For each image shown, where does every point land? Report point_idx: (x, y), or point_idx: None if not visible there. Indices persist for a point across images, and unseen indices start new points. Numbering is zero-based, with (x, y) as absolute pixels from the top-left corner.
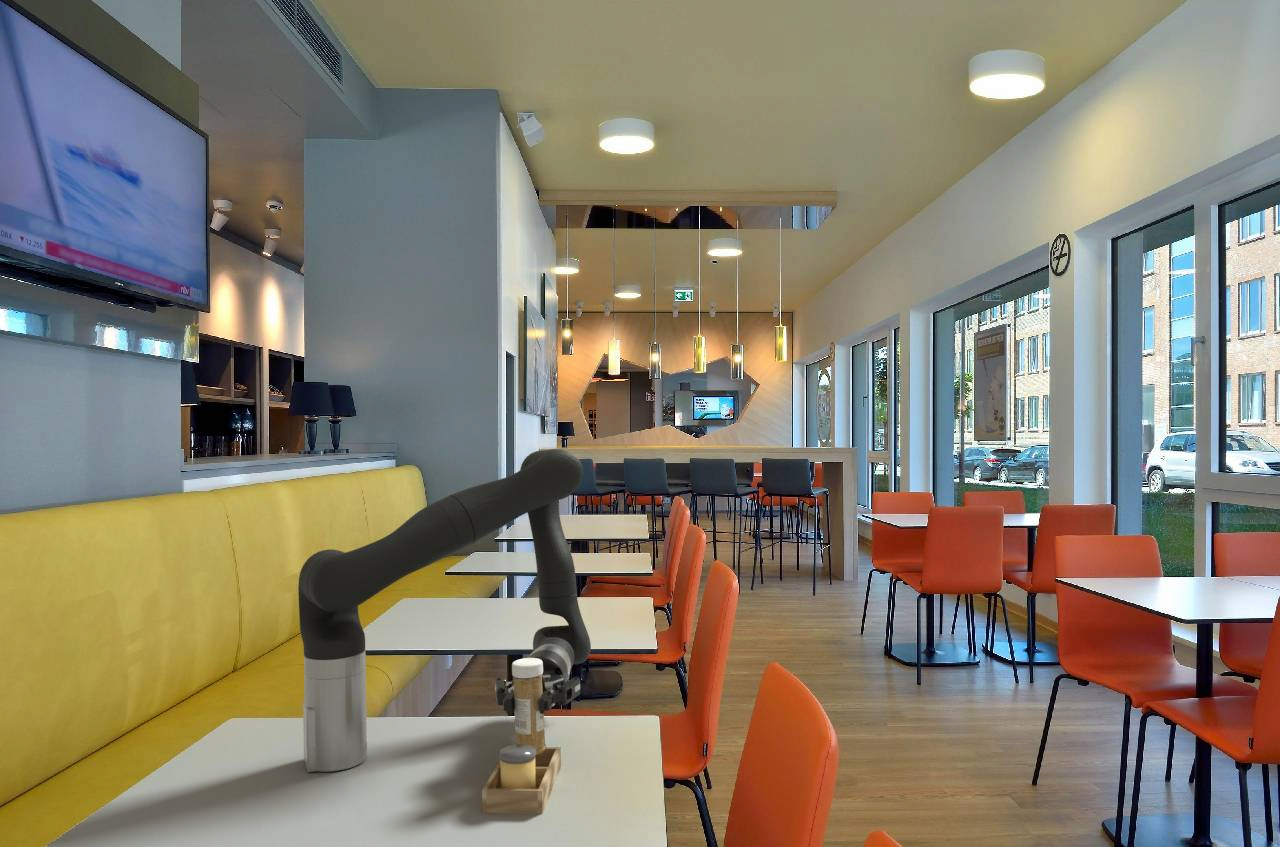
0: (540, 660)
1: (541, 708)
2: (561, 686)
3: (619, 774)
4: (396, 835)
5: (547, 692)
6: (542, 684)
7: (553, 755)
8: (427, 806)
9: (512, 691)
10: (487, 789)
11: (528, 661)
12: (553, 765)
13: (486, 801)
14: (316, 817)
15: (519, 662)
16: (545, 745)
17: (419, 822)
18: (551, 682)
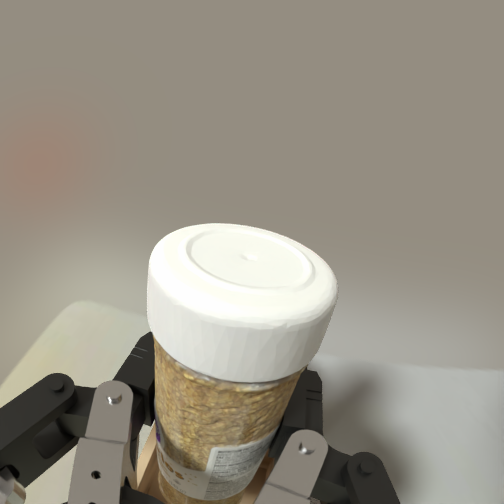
0: (164, 246)
1: None
2: (53, 404)
3: None
4: (378, 363)
5: (135, 372)
6: (131, 501)
7: (140, 478)
8: (377, 428)
9: (300, 430)
10: None
11: (240, 255)
12: (150, 432)
13: None
14: (480, 401)
15: (294, 259)
16: (159, 471)
17: (367, 387)
18: (85, 438)
